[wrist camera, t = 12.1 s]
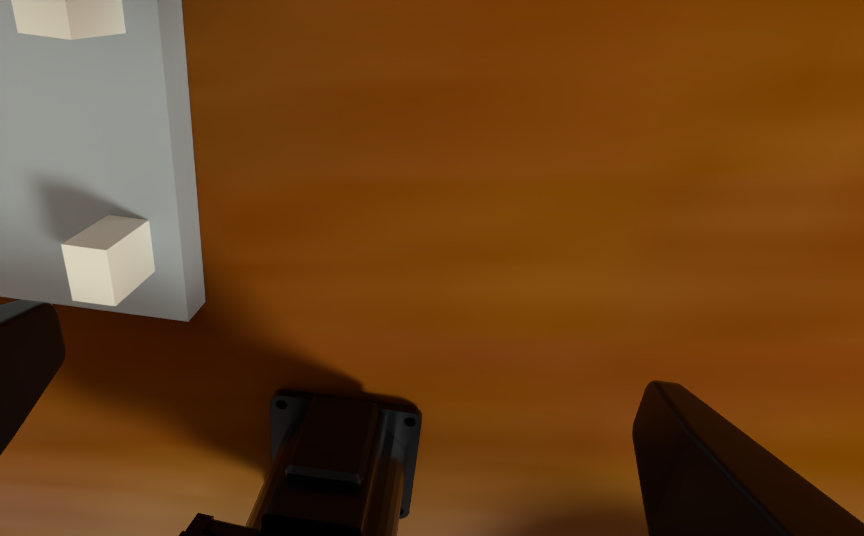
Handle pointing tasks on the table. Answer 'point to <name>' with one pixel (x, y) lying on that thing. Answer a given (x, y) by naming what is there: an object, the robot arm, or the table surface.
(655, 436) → the robot arm
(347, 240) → the table surface
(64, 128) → the holder
